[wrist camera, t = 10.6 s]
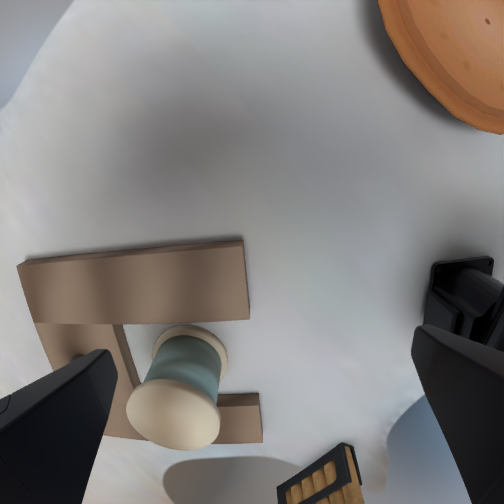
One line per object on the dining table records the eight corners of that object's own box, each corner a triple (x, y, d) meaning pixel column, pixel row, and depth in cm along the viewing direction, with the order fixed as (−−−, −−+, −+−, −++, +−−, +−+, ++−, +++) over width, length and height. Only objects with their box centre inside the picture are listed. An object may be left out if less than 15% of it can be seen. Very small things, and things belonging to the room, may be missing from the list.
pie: (523, 145, 18) (563, 149, 14) (370, 122, 19) (403, 115, 14) (496, -8, 14) (526, -23, 9) (344, -56, 14) (361, -91, 9)
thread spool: (222, 323, 23) (211, 387, 16) (231, 383, 24) (225, 451, 18) (147, 325, 23) (113, 385, 16) (163, 384, 25) (141, 447, 18)
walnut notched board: (243, 239, 21) (238, 276, 15) (262, 430, 26) (263, 486, 20) (26, 260, 21) (-23, 289, 15) (89, 422, 27) (67, 466, 20)
